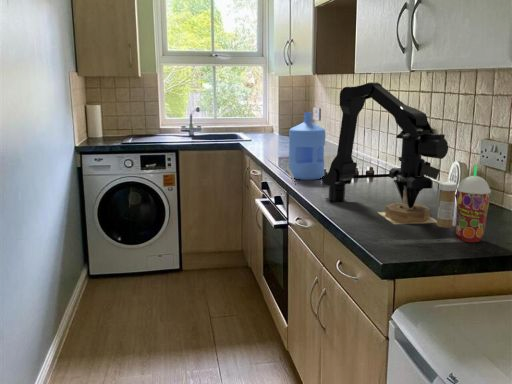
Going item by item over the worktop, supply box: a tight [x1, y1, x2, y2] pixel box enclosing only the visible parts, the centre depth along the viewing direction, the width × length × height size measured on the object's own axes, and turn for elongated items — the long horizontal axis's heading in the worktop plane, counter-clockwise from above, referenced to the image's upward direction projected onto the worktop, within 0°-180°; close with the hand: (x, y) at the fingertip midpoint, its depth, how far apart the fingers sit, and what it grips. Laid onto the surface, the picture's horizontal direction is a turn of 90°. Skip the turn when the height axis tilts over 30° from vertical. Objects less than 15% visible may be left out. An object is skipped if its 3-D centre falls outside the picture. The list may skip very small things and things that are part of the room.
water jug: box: [288, 111, 326, 181], centre depth 222 cm, size 16×16×28 cm
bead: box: [384, 202, 431, 223], centre depth 155 cm, size 12×12×3 cm
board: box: [377, 211, 437, 225], centre depth 155 cm, size 14×14×1 cm
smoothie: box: [455, 165, 492, 243], centre depth 135 cm, size 8×8×20 cm
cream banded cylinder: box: [402, 190, 413, 210], centre depth 154 cm, size 3×3×8 cm
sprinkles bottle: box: [436, 181, 458, 229], centre depth 145 cm, size 5×5×14 cm
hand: (407, 205), depth 155 cm, fingers open, 4 cm apart
